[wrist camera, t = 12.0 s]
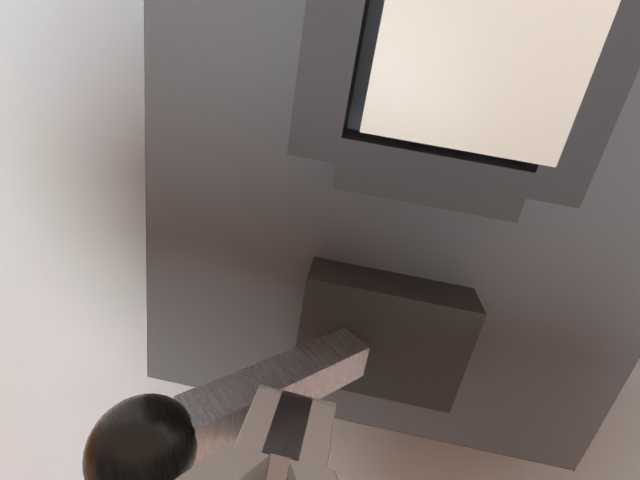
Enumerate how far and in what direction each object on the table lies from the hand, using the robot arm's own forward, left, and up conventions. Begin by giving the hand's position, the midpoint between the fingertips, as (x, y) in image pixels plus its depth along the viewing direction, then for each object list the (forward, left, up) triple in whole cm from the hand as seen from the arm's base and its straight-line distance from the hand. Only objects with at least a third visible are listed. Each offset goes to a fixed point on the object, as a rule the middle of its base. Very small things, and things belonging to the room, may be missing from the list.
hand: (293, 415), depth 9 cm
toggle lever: (-1, 0, -3) cm, 3 cm away
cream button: (-2, -8, -3) cm, 9 cm away
